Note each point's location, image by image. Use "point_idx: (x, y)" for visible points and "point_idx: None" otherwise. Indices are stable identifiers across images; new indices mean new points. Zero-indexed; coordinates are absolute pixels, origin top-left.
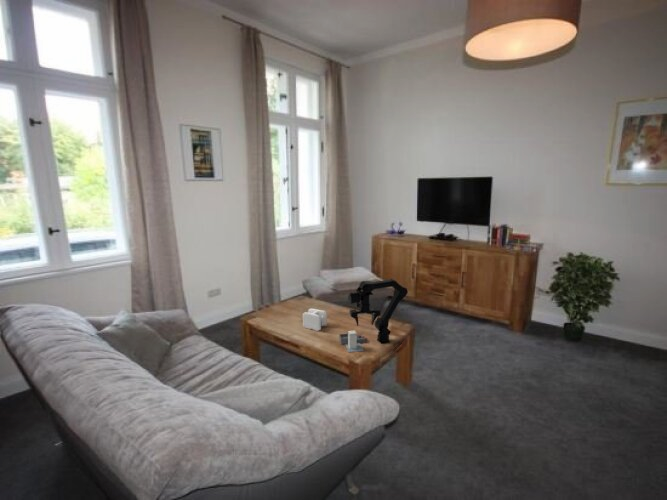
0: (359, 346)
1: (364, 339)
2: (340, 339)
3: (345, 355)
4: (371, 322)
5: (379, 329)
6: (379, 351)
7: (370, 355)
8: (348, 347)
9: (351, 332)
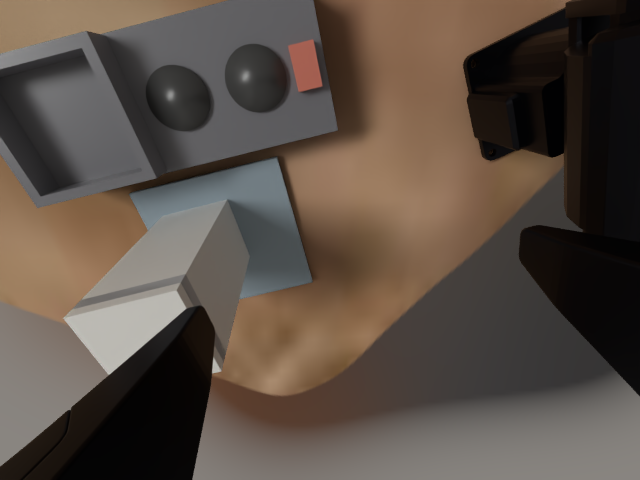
0: (273, 225)
1: (324, 132)
2: (35, 166)
3: None
4: (555, 252)
5: (588, 231)
6: (431, 276)
7: (357, 328)
8: None
9: None
